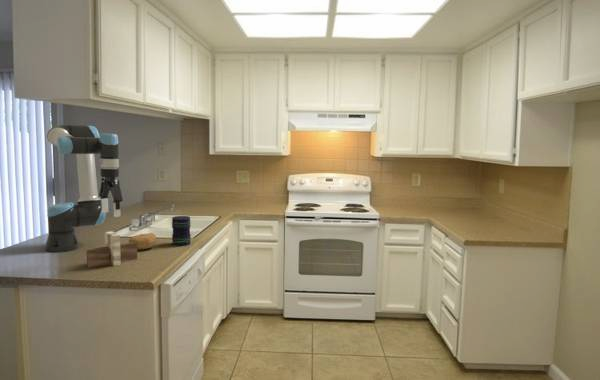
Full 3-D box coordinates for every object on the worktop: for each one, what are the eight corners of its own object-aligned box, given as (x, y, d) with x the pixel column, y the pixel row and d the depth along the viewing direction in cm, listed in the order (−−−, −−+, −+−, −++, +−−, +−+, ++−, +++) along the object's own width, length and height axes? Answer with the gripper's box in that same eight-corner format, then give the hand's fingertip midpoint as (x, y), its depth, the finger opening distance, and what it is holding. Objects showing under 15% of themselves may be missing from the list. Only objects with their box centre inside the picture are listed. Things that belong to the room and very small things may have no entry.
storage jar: (193, 242, 231) (193, 216, 229) (186, 246, 221) (186, 219, 219) (176, 241, 232) (176, 215, 230) (169, 245, 222) (168, 218, 220)
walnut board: (87, 267, 182) (86, 249, 181) (135, 258, 198) (135, 241, 197) (88, 268, 180) (88, 250, 180) (137, 258, 196) (136, 242, 195)
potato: (126, 249, 213) (125, 234, 212) (153, 245, 222) (152, 231, 221) (132, 253, 206) (132, 237, 205) (159, 249, 215) (159, 234, 214)
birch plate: (105, 261, 191) (104, 232, 190) (111, 259, 194) (111, 231, 192) (114, 266, 185) (113, 235, 183) (120, 264, 187) (119, 234, 185)
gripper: (90, 166, 190) (92, 211, 192) (112, 170, 173) (113, 219, 175) (107, 166, 195) (108, 209, 198) (130, 169, 178) (131, 217, 181)
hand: (111, 214), depth 187 cm, fingers open, 13 cm apart
